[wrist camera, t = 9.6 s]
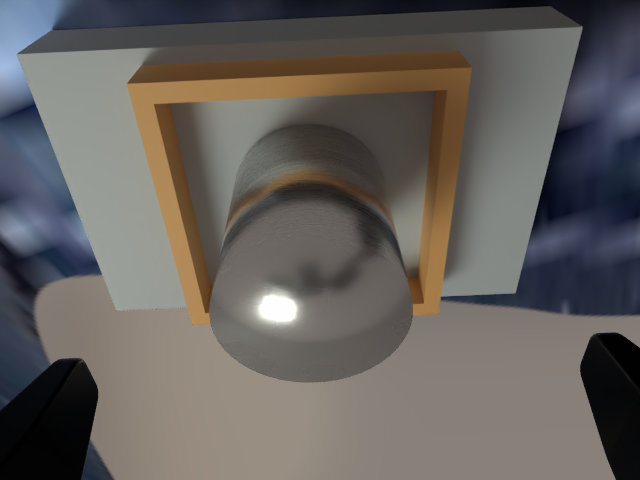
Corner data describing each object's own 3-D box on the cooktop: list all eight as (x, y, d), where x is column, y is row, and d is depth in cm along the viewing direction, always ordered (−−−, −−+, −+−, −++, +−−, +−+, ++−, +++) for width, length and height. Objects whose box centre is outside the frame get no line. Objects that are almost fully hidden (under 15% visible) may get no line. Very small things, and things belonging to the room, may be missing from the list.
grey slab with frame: (550, 5, 17) (607, 42, 14) (497, 255, 23) (528, 319, 20) (50, 30, 17) (-9, 71, 14) (133, 271, 23) (104, 338, 20)
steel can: (387, 121, 16) (421, 234, 12) (381, 248, 20) (405, 378, 15) (224, 127, 16) (191, 243, 12) (244, 253, 20) (225, 386, 15)
